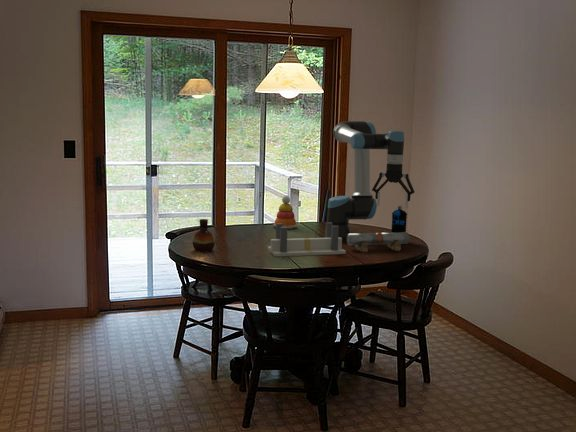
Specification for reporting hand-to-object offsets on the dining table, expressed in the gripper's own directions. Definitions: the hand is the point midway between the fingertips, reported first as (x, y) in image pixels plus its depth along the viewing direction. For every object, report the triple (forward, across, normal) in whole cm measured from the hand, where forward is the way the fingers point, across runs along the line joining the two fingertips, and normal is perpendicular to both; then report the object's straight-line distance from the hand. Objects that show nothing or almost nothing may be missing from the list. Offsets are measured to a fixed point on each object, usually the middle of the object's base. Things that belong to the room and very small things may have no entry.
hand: (392, 206), depth 302 cm
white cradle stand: (+24, -40, -8) cm, 48 cm away
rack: (+24, -8, +11) cm, 28 cm away
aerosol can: (+25, 0, +33) cm, 41 cm away
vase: (+25, -88, -25) cm, 95 cm away
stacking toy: (+26, -69, +50) cm, 89 cm away
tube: (+22, -8, +11) cm, 26 cm away
